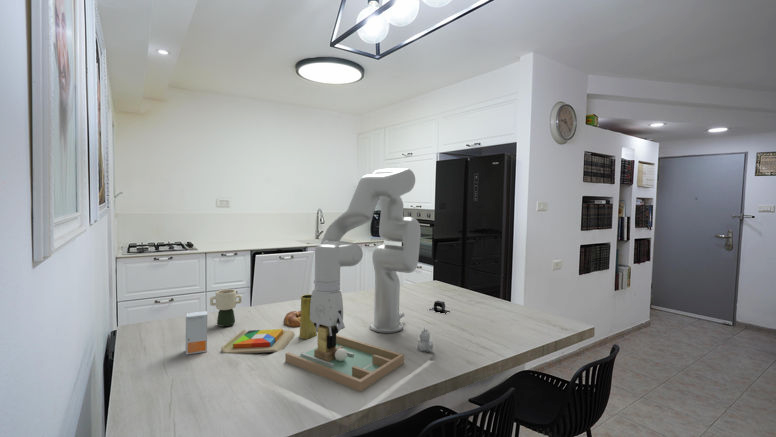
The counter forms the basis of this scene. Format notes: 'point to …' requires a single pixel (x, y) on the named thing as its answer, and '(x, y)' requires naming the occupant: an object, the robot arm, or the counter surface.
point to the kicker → (324, 345)
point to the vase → (306, 319)
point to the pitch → (351, 363)
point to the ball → (341, 354)
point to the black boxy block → (439, 304)
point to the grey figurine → (425, 342)
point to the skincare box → (196, 332)
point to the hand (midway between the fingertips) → (326, 345)
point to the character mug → (225, 306)
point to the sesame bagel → (293, 319)
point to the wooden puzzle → (258, 341)
